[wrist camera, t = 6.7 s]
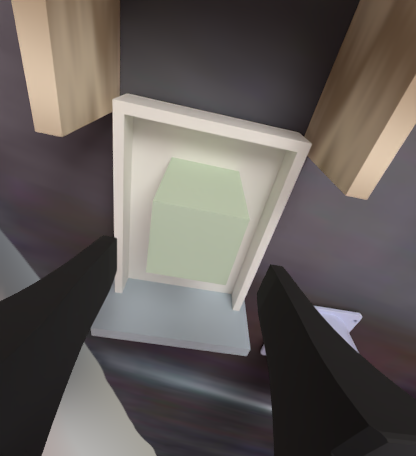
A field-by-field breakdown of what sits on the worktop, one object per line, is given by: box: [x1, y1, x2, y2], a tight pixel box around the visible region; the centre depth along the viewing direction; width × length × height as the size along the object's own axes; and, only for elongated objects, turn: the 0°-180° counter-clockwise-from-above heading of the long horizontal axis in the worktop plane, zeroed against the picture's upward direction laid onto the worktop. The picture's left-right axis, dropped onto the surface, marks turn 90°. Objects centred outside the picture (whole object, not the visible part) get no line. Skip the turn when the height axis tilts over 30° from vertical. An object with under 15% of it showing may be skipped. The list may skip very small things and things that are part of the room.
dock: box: [11, 0, 416, 200], centre depth 10 cm, size 10×14×7 cm
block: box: [146, 157, 250, 285], centre depth 15 cm, size 4×4×6 cm
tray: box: [91, 93, 312, 356], centre depth 17 cm, size 16×12×6 cm
